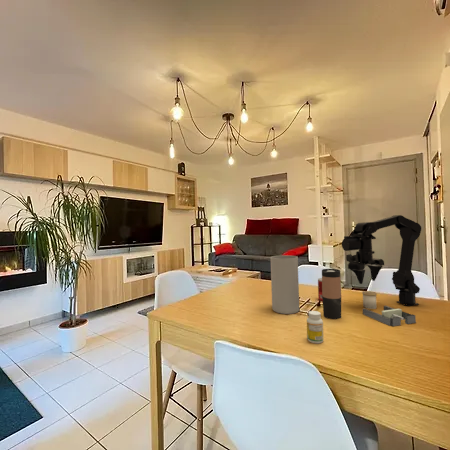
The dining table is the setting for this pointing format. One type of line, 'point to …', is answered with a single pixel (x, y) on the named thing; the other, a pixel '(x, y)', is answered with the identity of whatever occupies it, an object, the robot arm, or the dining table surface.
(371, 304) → the jar
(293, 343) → the dining table surface
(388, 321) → the grey u-shaped frame
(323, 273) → the travel mug
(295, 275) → the cylinder vase
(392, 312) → the pusher
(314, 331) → the supplement bottle
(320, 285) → the canned food
